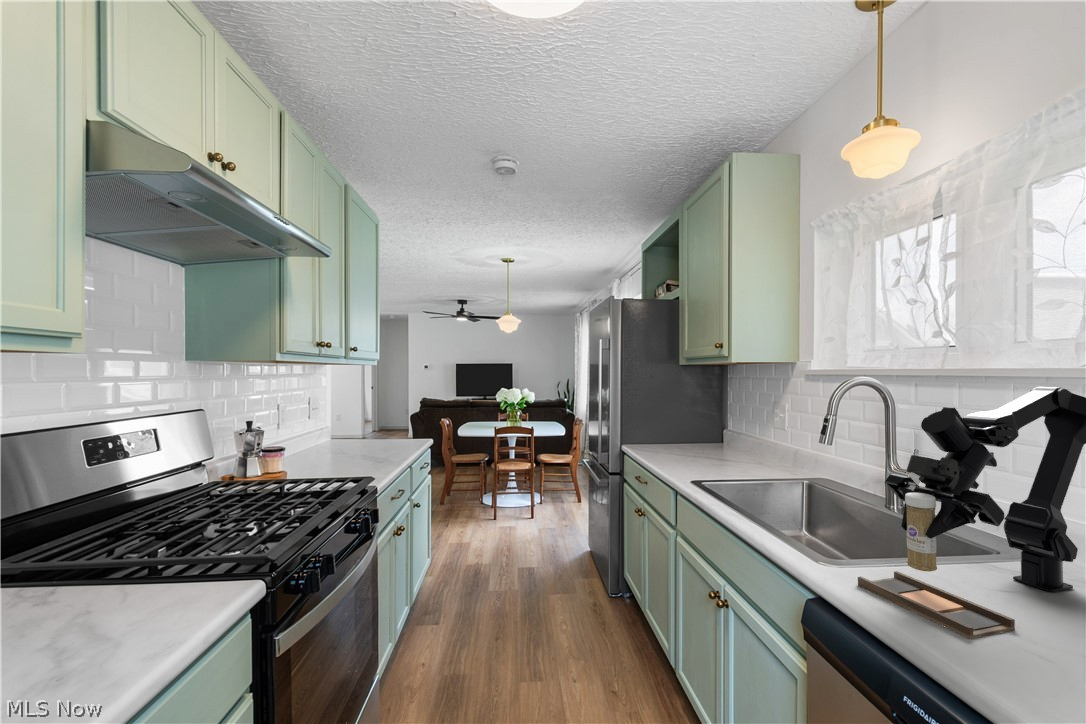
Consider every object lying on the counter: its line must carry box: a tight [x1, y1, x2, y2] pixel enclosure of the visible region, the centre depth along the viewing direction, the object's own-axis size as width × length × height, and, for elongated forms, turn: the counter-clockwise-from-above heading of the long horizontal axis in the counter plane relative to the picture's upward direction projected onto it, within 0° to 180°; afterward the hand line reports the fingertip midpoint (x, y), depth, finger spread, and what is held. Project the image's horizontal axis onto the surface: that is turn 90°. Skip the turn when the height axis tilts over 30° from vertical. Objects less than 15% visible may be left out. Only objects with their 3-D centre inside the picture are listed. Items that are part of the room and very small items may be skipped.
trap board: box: [857, 570, 1016, 640], centre depth 93 cm, size 10×21×2 cm, turn 15°
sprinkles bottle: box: [904, 493, 938, 572], centre depth 94 cm, size 5×5×13 cm
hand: (915, 532), depth 94 cm, fingers closed on sprinkles bottle, 4 cm apart
